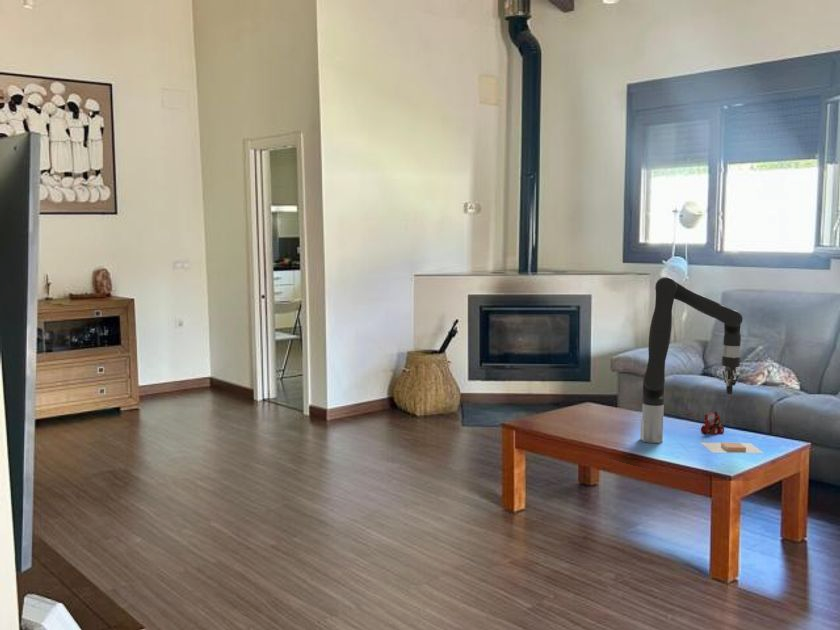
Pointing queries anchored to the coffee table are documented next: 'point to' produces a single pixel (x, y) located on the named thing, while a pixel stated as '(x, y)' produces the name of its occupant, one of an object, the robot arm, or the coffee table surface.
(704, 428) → the red wheeled toy
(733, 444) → the tile
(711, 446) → the stone board
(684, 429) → the coffee table surface
